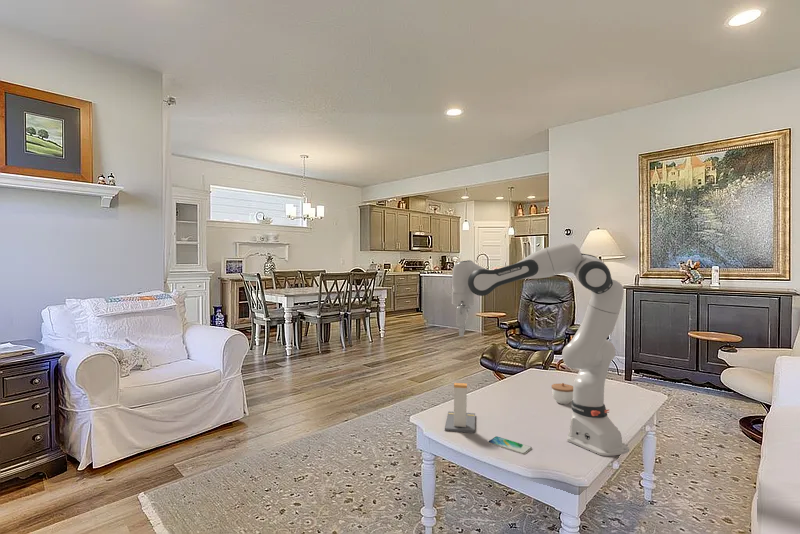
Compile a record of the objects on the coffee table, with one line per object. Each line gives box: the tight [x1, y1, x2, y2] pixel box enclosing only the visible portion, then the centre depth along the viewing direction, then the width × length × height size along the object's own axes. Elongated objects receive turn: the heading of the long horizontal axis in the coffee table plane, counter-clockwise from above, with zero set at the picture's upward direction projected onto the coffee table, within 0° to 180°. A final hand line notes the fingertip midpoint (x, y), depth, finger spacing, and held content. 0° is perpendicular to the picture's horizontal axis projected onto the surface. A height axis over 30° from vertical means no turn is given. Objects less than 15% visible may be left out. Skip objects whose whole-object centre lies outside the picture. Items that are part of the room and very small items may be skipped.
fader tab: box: [453, 382, 468, 427], centre depth 178 cm, size 3×5×17 cm, turn 80°
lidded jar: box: [551, 382, 573, 405], centre depth 213 cm, size 11×11×9 cm
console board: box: [444, 410, 476, 434], centre depth 184 cm, size 20×12×1 cm, turn 169°
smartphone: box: [487, 435, 533, 455], centre depth 162 cm, size 7×1×15 cm
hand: (462, 334), depth 175 cm, fingers open, 8 cm apart
